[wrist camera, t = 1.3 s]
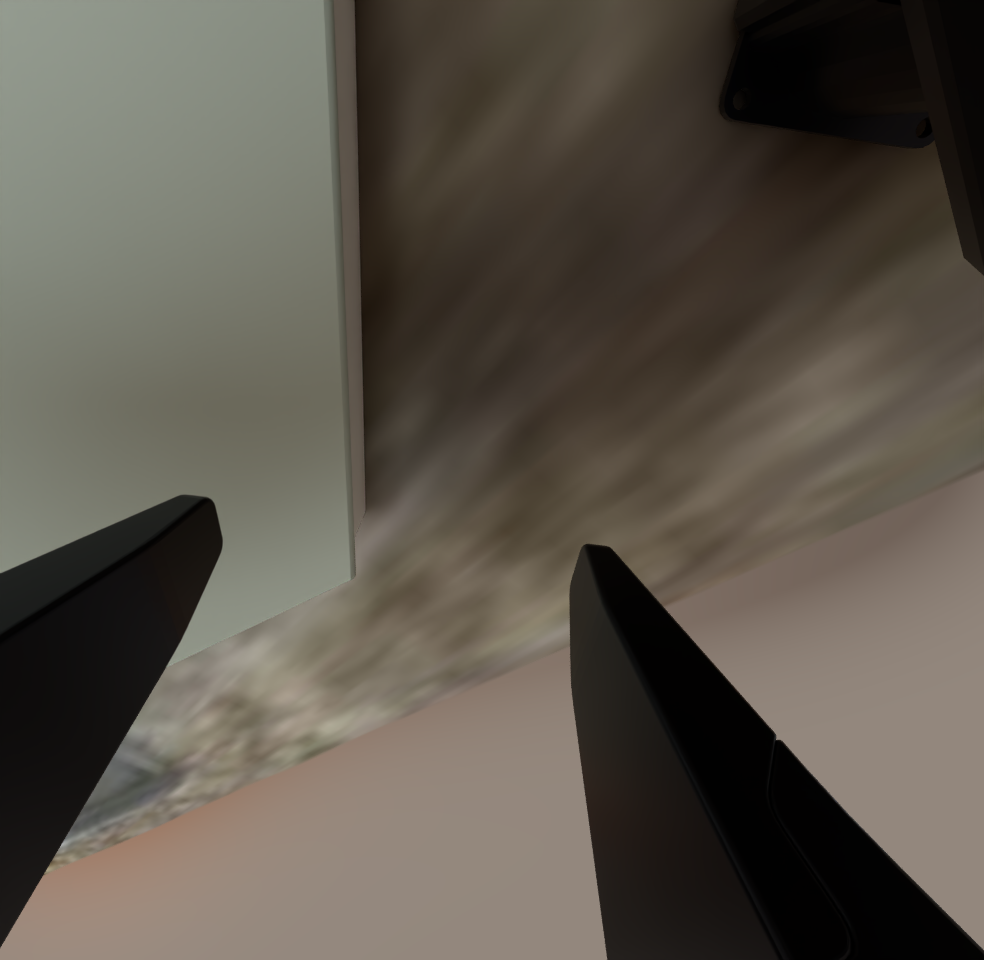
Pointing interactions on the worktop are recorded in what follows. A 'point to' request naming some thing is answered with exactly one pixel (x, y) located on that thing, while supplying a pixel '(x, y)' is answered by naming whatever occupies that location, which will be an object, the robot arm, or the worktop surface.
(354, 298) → the cable duct
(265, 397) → the duct cover
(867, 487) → the worktop surface
